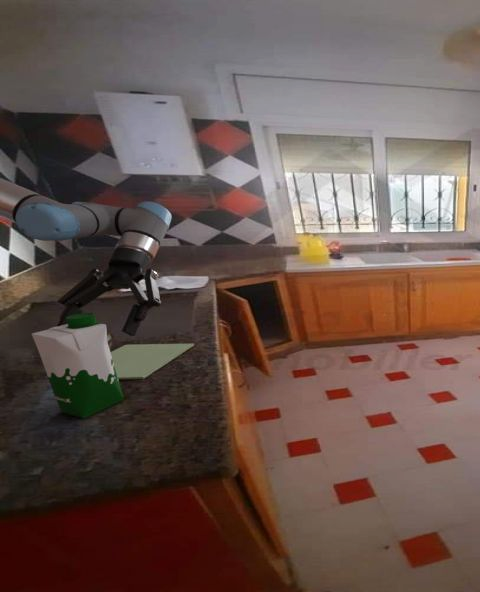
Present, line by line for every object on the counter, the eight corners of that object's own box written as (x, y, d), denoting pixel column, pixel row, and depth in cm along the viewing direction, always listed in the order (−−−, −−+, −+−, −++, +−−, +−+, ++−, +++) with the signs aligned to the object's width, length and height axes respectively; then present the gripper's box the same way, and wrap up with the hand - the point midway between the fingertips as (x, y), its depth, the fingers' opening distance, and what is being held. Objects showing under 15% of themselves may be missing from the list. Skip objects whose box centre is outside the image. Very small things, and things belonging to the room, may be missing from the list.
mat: (57, 381, 77) (57, 378, 77) (126, 346, 97) (125, 344, 96) (143, 379, 79) (143, 376, 79) (194, 345, 98) (194, 343, 98)
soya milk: (131, 398, 71) (108, 314, 66) (79, 423, 63) (48, 329, 57) (105, 391, 74) (81, 310, 68) (52, 414, 65) (19, 324, 60)
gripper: (195, 263, 83) (166, 339, 73) (93, 263, 81) (49, 341, 71) (177, 245, 76) (143, 326, 66) (66, 245, 75) (13, 328, 64)
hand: (94, 334), depth 68 cm, fingers open, 13 cm apart
